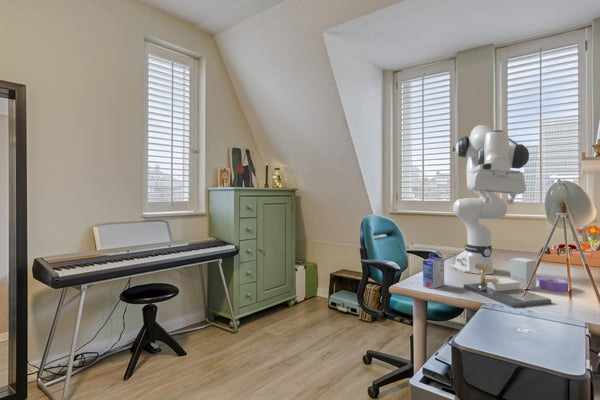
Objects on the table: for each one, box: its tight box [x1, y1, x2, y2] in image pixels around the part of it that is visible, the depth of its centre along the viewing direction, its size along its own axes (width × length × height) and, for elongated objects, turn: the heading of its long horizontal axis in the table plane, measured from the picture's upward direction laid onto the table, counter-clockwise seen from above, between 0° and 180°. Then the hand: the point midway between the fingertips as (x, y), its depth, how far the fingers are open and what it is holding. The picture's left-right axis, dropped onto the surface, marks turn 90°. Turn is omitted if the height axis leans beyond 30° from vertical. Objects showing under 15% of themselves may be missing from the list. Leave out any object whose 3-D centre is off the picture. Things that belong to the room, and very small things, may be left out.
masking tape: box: [538, 276, 569, 293], centre depth 153 cm, size 12×12×4 cm
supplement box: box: [509, 257, 537, 291], centre depth 153 cm, size 7×7×13 cm
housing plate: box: [463, 282, 552, 308], centre depth 143 cm, size 26×18×3 cm
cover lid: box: [486, 278, 520, 291], centre depth 147 cm, size 6×11×3 cm, turn 104°
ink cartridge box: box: [422, 252, 445, 290], centre depth 156 cm, size 10×6×14 cm, turn 129°
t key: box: [475, 263, 499, 286], centre depth 145 cm, size 7×8×9 cm
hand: (498, 203), depth 134 cm, fingers open, 8 cm apart
